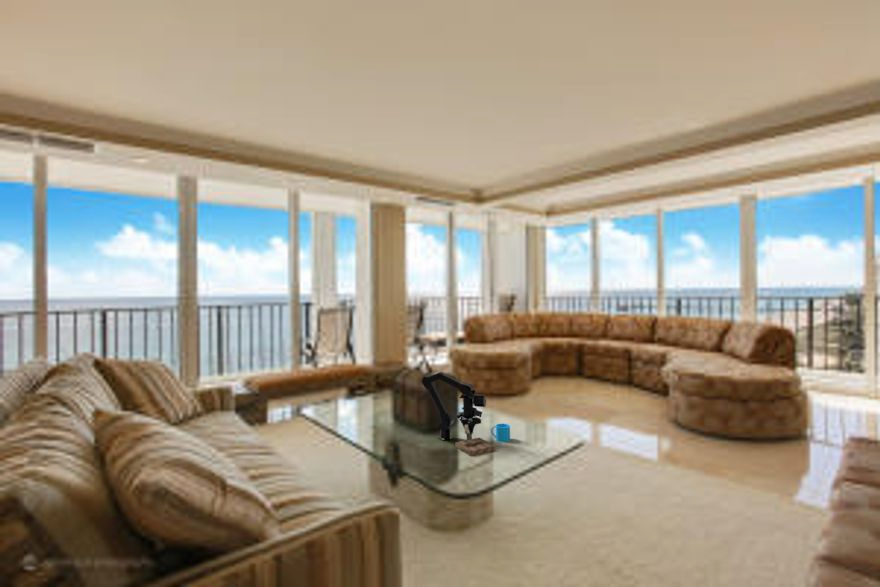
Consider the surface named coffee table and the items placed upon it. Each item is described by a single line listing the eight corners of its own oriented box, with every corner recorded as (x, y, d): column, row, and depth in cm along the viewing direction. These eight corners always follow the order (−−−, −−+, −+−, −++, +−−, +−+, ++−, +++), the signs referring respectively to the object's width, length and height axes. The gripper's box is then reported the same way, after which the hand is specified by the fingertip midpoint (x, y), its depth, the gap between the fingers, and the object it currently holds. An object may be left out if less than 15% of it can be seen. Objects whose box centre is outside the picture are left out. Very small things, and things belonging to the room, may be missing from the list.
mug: (512, 438, 243) (512, 424, 243) (506, 442, 236) (505, 428, 236) (494, 435, 250) (494, 421, 250) (487, 439, 243) (487, 425, 243)
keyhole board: (470, 456, 217) (470, 451, 217) (455, 447, 232) (455, 442, 232) (495, 450, 225) (495, 445, 225) (479, 442, 239) (479, 437, 239)
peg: (463, 440, 242) (463, 424, 243) (470, 438, 245) (470, 423, 245) (467, 442, 238) (467, 426, 238) (474, 441, 240) (474, 425, 241)
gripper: (488, 407, 237) (489, 434, 237) (471, 400, 254) (472, 426, 254) (471, 410, 232) (472, 438, 232) (455, 403, 249) (456, 429, 248)
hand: (469, 432), depth 242 cm, fingers closed on peg, 5 cm apart
